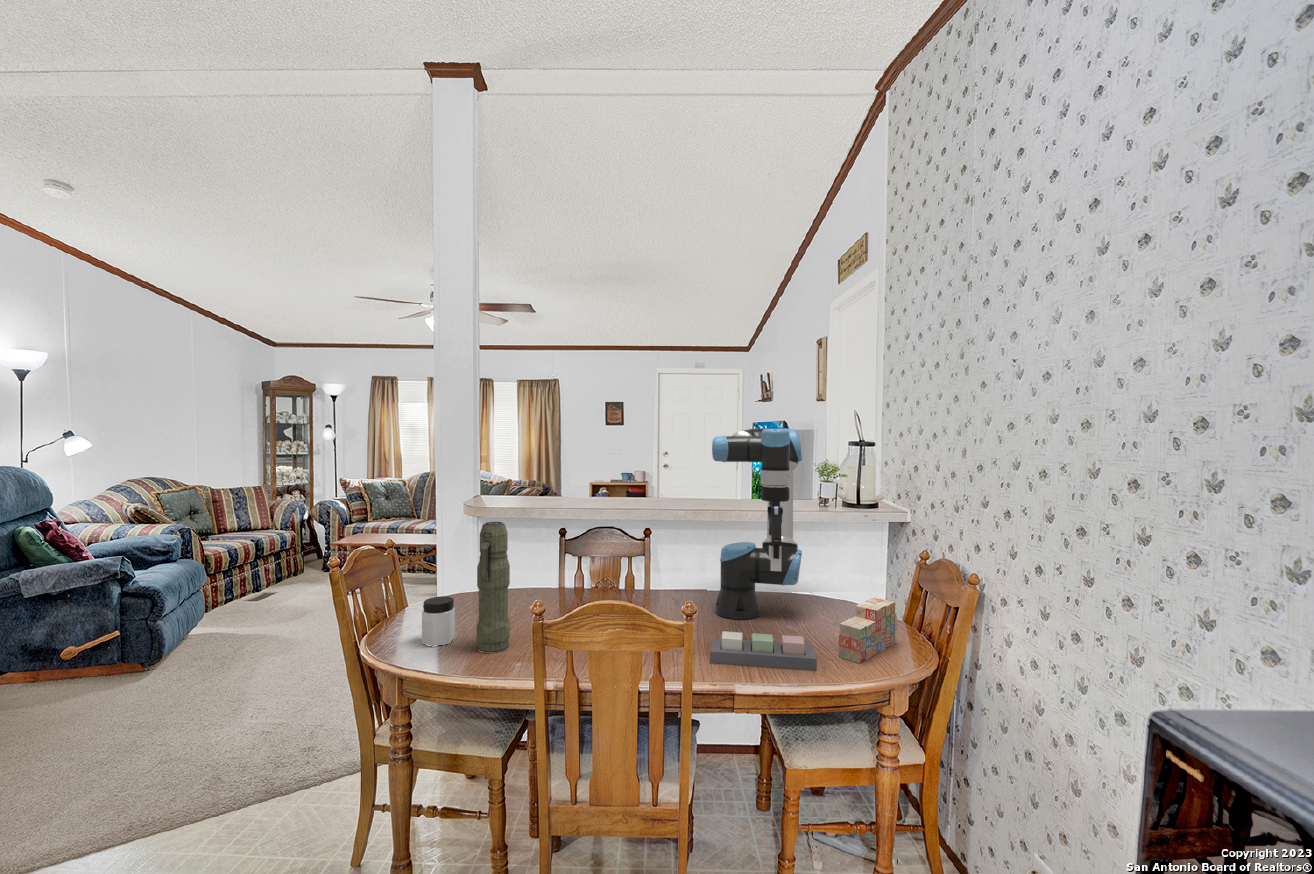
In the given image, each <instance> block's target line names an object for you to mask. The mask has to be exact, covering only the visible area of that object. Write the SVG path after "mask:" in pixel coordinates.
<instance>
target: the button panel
mask: <svg viewBox="0 0 1314 874" xmlns="http://www.w3.org/2000/svg"><path fill="white" fill-rule="evenodd" d="M710 646H711V647H710V653H709V654H710V656H709V657H710V662H709V663H710V664H723V665H733V666H735V665H736V666H748V667H762V668H772V669H773V668H775V669H776V668H777V669H788V670H790V669H791V670H803V671H814V672H815V671H816V672H817V669H818V667H817V656H816V652H815V650H814V649H815V648H814V646H813V643H810V644H809V643H804V655H796V654H782V641H773V653H767V652H752V639H742V651H738V650H723V649H722V637H721V638H720V637H712V641H711V645H710Z"/></svg>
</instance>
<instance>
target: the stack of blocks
mask: <svg viewBox="0 0 1314 874" xmlns="http://www.w3.org/2000/svg"><path fill="white" fill-rule="evenodd" d="M895 644H896V601H891V600H887V599H882V598H878V597H873V598H870V599H866V600H865V601H863V602H860V603H858V604H857V605H855V615H854V616H853V617H851V618H849V619H847V620H844V621H843V622H840V623H839V635H838V657H839V658H842V659H846V660H849V661H851V662H853V663H858V664H861V663H863V662H865V661H867V660H869V659H870V658H872V657H874V656H876V655H878V654H879V653H881V652H883V651H884V650H886V649H888V648H890V647H891V646H894V645H895ZM882 650H883V651H882Z"/></svg>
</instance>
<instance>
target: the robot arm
mask: <svg viewBox="0 0 1314 874" xmlns="http://www.w3.org/2000/svg"><path fill="white" fill-rule="evenodd" d="M801 446H802V444H801V439H800V433H799V431H798V429H795V428H786V427H784V428H749V429H744V430H740V431H737V432H735V433H734V434H732V435H731V436H730V435H728V436H727V435H721V436H714V437H713V439H712V445H711V453H712V454H711V456H712V460H713V461H715V462H722V463H761V464H760V465H761V468H760V469H761V470H760V484H761V485H762V486H761V487H760V488H761V489H760V500H762V501H763V502H767V510H766V511H767V514H766V516H767V517H766V520H767V521H766V524H767V525H766V538H765V539H764V540H763V541H762V542H761V543H762V545H761V547H756V546H757V545H756V543H755V542H749V541H744V542H734V543H729V544H725V545H724V546H723V547H722V548H721V550H720V559H719V562H720V587H719V589H720V590H719V593H718V596H717V599H716V602H715V606H714V607H715V608H714V610H715V614H716V615H717V616H720V617H722V618H724V619H725V618H726V619H729V620H743V621H744V620H752V619H756V618H758V617H760V615H761V605H760V602H759V598H758V595H757V593H756V584H763V585H764V584H765V585H778V586H779V585H781V586H795V585H796V584H798V582H799V577H800V575H799V574H800V570H801V563H802V553H803V551H802V550H801V549H799V548H798V547H799V546H798V543H797V542H796V541H795V540H794V471H795V470H796V469H797V467H798V465H799V463H800V462H802V461H803V454H802V447H801Z"/></svg>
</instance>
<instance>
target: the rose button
mask: <svg viewBox="0 0 1314 874" xmlns="http://www.w3.org/2000/svg"><path fill="white" fill-rule="evenodd" d="M804 640H805V639H804V637H803V636H801V635H788V634H787V635H785V634H782V635H781V642H782V654H796V655H804V644H805V641H804Z"/></svg>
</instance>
